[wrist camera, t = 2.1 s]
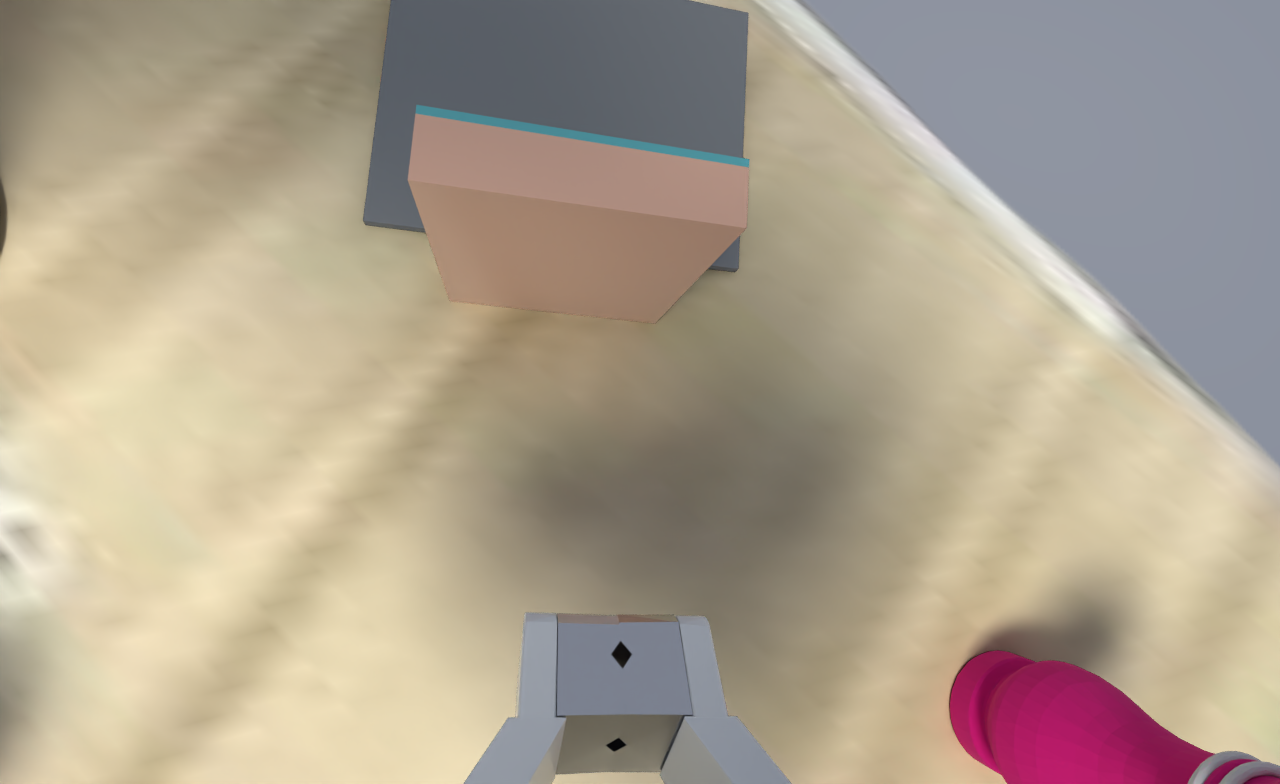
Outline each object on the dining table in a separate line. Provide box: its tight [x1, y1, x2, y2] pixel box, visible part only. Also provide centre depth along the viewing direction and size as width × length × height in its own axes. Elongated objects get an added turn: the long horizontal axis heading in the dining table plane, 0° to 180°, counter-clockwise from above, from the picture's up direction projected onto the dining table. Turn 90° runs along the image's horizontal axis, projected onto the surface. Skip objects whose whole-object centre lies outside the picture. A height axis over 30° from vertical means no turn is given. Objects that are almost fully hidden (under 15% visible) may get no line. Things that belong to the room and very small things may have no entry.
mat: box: [363, 0, 748, 272], centre depth 35 cm, size 16×20×1 cm
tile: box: [408, 105, 749, 323], centre depth 28 cm, size 2×11×14 cm, turn 86°
